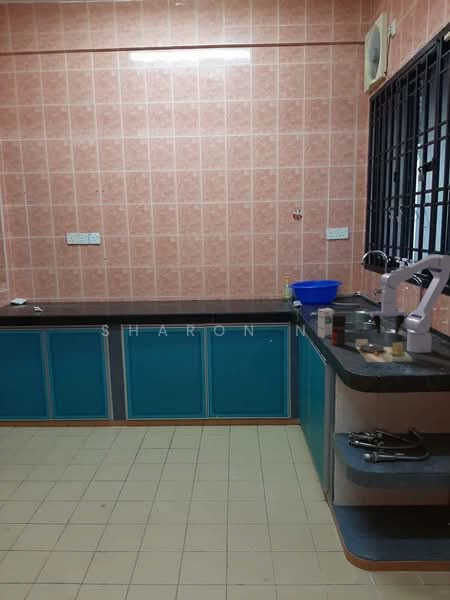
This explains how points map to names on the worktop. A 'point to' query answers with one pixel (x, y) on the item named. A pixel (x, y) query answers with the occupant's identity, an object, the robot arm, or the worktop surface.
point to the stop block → (397, 350)
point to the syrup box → (325, 322)
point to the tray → (399, 359)
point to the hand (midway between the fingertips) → (387, 333)
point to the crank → (369, 346)
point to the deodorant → (338, 329)
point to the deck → (376, 358)
